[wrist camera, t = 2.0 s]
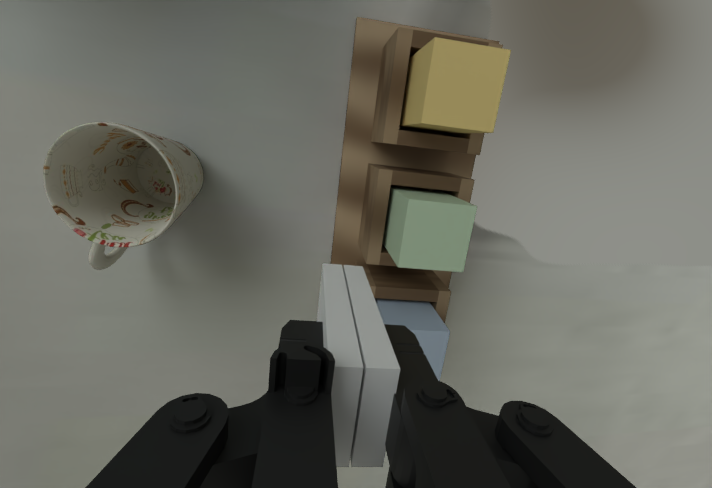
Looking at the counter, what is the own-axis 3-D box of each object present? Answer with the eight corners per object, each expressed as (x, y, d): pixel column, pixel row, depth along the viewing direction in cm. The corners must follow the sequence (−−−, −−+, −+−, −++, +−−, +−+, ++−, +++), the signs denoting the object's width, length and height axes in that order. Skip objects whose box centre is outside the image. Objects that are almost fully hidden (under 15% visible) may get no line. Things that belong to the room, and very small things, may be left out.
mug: (231, 154, 33) (197, 161, 24) (180, 267, 36) (132, 315, 26) (140, 108, 31) (64, 96, 22) (94, 231, 34) (8, 269, 24)
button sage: (388, 185, 31) (408, 199, 24) (443, 191, 32) (477, 206, 25) (380, 240, 33) (397, 267, 26) (433, 244, 33) (463, 272, 27)
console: (356, 19, 31) (367, -12, 24) (495, 43, 33) (540, 20, 26) (322, 341, 40) (323, 382, 33) (433, 346, 42) (455, 386, 35)
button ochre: (406, 60, 28) (435, 37, 22) (466, 69, 29) (510, 50, 22) (397, 125, 30) (421, 122, 23) (454, 133, 30) (493, 132, 24)
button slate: (373, 290, 34) (387, 328, 27) (424, 294, 35) (450, 331, 28) (367, 337, 35) (379, 383, 29) (415, 339, 36) (438, 385, 29)
